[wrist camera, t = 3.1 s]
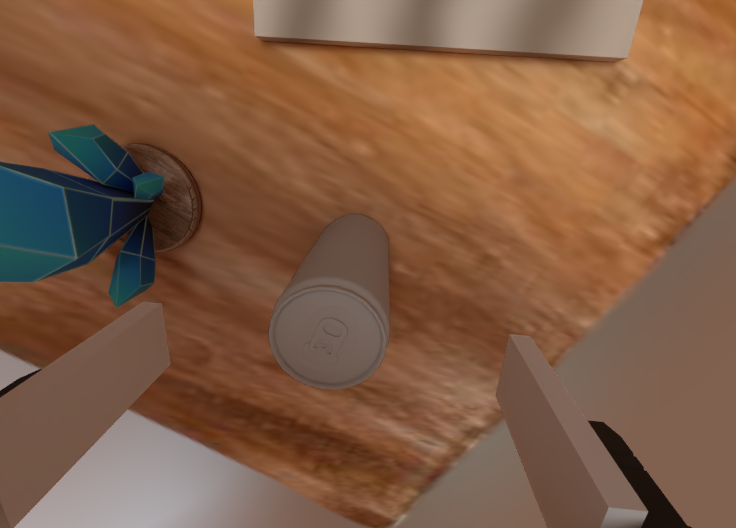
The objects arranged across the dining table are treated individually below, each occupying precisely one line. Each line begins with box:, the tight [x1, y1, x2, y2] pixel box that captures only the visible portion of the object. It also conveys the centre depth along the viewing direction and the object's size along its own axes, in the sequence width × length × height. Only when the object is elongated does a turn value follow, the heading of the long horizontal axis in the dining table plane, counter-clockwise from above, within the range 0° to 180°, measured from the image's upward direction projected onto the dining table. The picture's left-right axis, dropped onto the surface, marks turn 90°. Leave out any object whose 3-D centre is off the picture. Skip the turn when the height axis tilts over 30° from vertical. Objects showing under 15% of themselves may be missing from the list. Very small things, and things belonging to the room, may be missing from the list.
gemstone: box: [0, 125, 201, 308], centre depth 19 cm, size 7×9×12 cm
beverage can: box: [269, 214, 390, 390], centre depth 20 cm, size 5×5×12 cm
